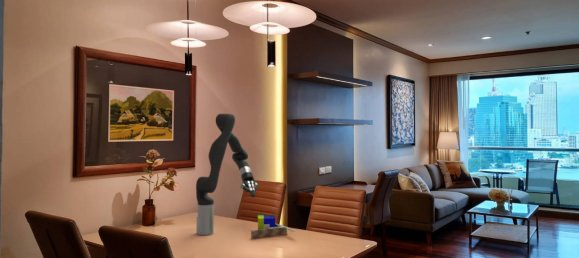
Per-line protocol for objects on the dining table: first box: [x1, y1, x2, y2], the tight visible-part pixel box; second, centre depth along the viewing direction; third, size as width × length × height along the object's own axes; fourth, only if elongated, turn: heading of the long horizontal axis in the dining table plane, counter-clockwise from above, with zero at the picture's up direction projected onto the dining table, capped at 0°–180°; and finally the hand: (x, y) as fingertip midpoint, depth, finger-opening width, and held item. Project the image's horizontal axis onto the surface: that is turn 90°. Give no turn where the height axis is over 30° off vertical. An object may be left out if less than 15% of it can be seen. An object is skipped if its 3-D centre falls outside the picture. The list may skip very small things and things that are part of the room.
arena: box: [250, 222, 296, 240], centre depth 238 cm, size 22×28×5 cm
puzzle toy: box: [257, 214, 276, 230], centre depth 243 cm, size 10×10×10 cm
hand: (253, 196), depth 258 cm, fingers closed
